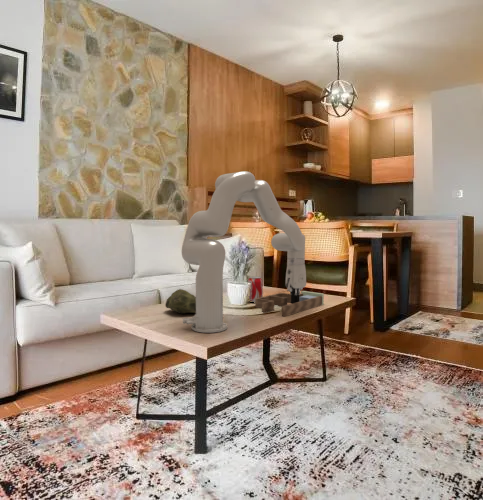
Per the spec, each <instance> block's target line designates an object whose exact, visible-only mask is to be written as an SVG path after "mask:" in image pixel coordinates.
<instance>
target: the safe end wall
mask: <svg viewBox="0 0 483 500" xmlns="http://www.w3.org/2000/svg"><path fill="white" fill-rule="evenodd" d="M300 293H302V294H303V296H306V295H309V296H315V297H318V296H322V305H321V306H323V305H324V302H325V300H324V297H325V296H324V295H325V293H321V292H315V291H314V292H313V291H307V290H301V291H300Z"/></svg>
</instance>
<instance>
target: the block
mask: <svg viewBox="0 0 483 500" xmlns="http://www.w3.org/2000/svg"><path fill="white" fill-rule="evenodd" d="M314 297H315V296H309V295H306V296H301V297H299V302H300V301H303V300H307V299H311V298H314Z"/></svg>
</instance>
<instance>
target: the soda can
mask: <svg viewBox="0 0 483 500" xmlns="http://www.w3.org/2000/svg"><path fill="white" fill-rule="evenodd" d="M248 282H250V283H251V289H250V296H249V299H250V301H252V302H255V298H260V297H264V296H263V293H264V292H263V291H264V289H263V288H264V287H263V286H264V284H263V283H264V282H263V280H262V277H261V276H260V275H259V276H257V275H255V276H254V275H252V276H251V275H250V276H248V279H247V283H248Z"/></svg>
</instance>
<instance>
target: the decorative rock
mask: <svg viewBox="0 0 483 500" xmlns="http://www.w3.org/2000/svg"><path fill="white" fill-rule="evenodd" d="M165 308H166V309H170V310H172V311H173V312H174V313H179V314H180V315H185V314H189V313H191V314H192V313H193V314H196V295H194V294H193V293H191V292H189V291H187V290H184V289H181V288H179V289H177V290H175V291H173V292H172V293H171V295H170V296H169V297H168V298H167V299H166V301H165Z"/></svg>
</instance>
